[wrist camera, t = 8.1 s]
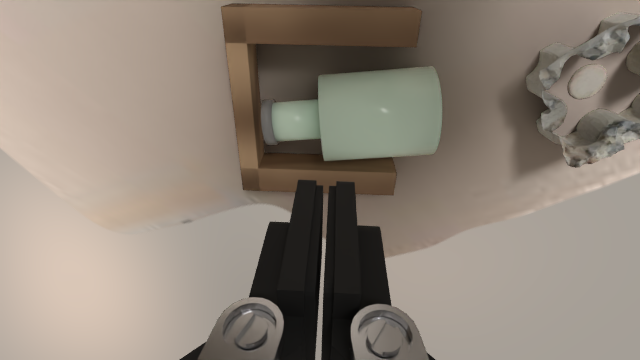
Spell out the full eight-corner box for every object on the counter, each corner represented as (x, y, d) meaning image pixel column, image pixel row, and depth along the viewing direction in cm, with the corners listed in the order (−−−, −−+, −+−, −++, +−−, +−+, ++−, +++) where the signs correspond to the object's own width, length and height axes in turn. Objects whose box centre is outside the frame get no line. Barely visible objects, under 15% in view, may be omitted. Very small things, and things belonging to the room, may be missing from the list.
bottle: (421, 64, 22) (269, 76, 23) (444, 67, 17) (249, 83, 18) (419, 142, 24) (278, 151, 24) (439, 165, 19) (263, 176, 20)
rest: (232, 3, 20) (220, 6, 18) (413, 7, 20) (421, 10, 18) (250, 173, 26) (243, 190, 24) (388, 177, 26) (393, 195, 24)
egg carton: (532, 147, 24) (565, 176, 21) (514, 47, 21) (549, 62, 17) (710, 84, 22) (782, 105, 18) (722, -43, 18) (813, -47, 15)
